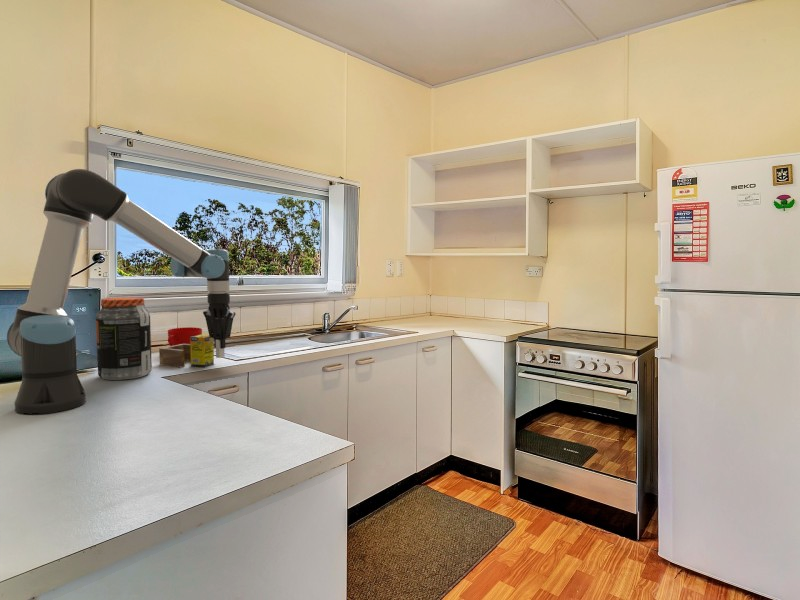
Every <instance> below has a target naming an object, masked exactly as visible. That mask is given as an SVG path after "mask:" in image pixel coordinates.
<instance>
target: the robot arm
mask: <svg viewBox="0 0 800 600" xmlns="http://www.w3.org/2000/svg"><path fill="white" fill-rule="evenodd" d="M44 190H45V192H44V193H45V194H44V196H45V203H44V207H43V211H42V213H43V214H44V216H45V217H46V219H47V222H46V226H45V231H44V234H43V236H42V241H41V246H40V250H39V252H38V256H37V261H36V264H35V268H34V272H33V275H32V276H33V277H32V279H31V283H30V287H29V291H28V294H27V298H26V302H25V303H24V304H22V305H20V306H18V307H17V309H16V313H15V317H14V321H13V322H12V323H11V324H10V325H9V328H8V329H7V332H6V342H7V345H8V346H9V348H10V350H11V351H13V353H15V355H17V356H18V357H21V373H22V375H21V376H22V378H21V383H20V387H19V389H18V392H17V395H16V398H15V401H14V411H15V413H17V412H18V414H21V413H27V414H26V415H33V414H32V413H45V414H49V413H48V412H53V413H59V412H64V411H68V410H71V409H75V408H77V407H80V406H82V405H84V404H85V403H86V402H87V401H86V399H87V397H86V392H85V390H84V387H83V385H82V382H81V381H80V378H79V376H78V370H77V369H78V367H77V365H78V364H77V344H76V343H77V337H76V334H77V329H76V324H75V321H74V320H73V319H72V318H71V317H68V313H66V311H65V310H64V305H65V301H66V298H67V295H68V294H67V293H68V290H69V286H70V282H71V277H72V275H73V270H74V267H75V264H76V259H77V255H78V251H79V248H80V244H81V240H82V236H83V232H84V230H85V228H88V227H89V226H91V225H92V222H93V218H94V216H96V217H98V218H100V219H102V220H104V221H105V222H109V221H112V222H114V223H115V224H117V225H118V226H121V228H124V229H125V230H126V231H128V232H130V233H131V234H133V235H134V236H136V237H138V238H140V239H141V240H143V241H144V242H146V243H148V244H149V245H151V246H152V247H154V248H156V249H157V250H158V251H160V252H162V253H164V254H165V255H167V256H168V257H170V259H171V260H170V272H171V273H172V275H173V276H174V277H176V278H202V279H203V278H205V279H206V290H207V291H206V292H207V295H206V296H207V303H208V307H207V308H208V309H207V310H204V311H203V312H202V314H203V316H204V318H205V322H206V328H207V331H208V335H209V336H210V337H212V338H213V339H214V349H215V358H216V359H220V358H225V355H226V354H225V349H226V345H227V344H226V340H227V339H230V338H231V334H232V328H233V321H234V318H235V316H236V312H235V311H232V310H231V308H230V305H229V304H230V302H231V298H230V297H231V295H230V256H229V252H228V250H226V249H212V248H211V249H206V250H204V249H203V248H202V247H200V246H198V245H197V244H196V243H194V242H192V241H191V240H190V239H188V238H187V237H185V236H184V235H182V234H181V233H179V232H178V231H176V230H175V229H173V228H172V227H170V226H169V225H167V224H166V223H165V222H163V221H162V220H160V219H159V218H157V217H155V216H154V215H153V214H151V213H149V211H147V210H146V209H143V208H142V207H141V206H139V205H137V204H136V203H135V202H133V201H132V200H130V199H129V197H128V193H126V192H125V191H123V190H122V189H120V188H119V187H117V186H116V185H115V184H113V183H111V182H110V180H108V179H106V178H104V177H103V176H101V175H99V173H96V172H94V171H91V170H88V169H83V168H76V169H70V170H69V171H67V172H63V173H60V174H57V175H55V176H54V177H53V178H51V179H50V180H49V181H48V182H47V184H46V186H45V189H44ZM58 411H59V412H58ZM28 413H29V414H28ZM30 413H31V414H30Z"/></svg>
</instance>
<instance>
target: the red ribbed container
mask: <svg viewBox="0 0 800 600" xmlns="http://www.w3.org/2000/svg"><path fill="white" fill-rule="evenodd" d="M197 335H203V329H202V328H201V327H192V326H191V327H175V328H170V329H168V330H167V344H168V345H169V346H174V345H179V344H191V341H190V337H193V336H197Z"/></svg>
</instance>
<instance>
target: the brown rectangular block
mask: <svg viewBox="0 0 800 600" xmlns="http://www.w3.org/2000/svg"><path fill="white" fill-rule="evenodd" d="M158 352H159V354H158V355H159V356H158V358H159V365H161V366H163V365H164V366H168V367H169V366H170V367H177V368H183V367H185V364H186V363H185V361H190V362H191V344H179V345H174V346H170V345H169V346H165V347H160V348H159V351H158Z"/></svg>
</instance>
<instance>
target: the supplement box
mask: <svg viewBox="0 0 800 600" xmlns="http://www.w3.org/2000/svg"><path fill="white" fill-rule="evenodd" d="M190 341H191V361H190V367H197V368H198V367H199V368H200V367H201V368H205V367H208V366H211V365H214V364H215V360H214V359H215V357H214V355H215V354H214V353H215V352H214V351H215V346H214V339H213V338H212V337H210V336H209V334H202V335H197V336H193V337H190Z"/></svg>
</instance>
